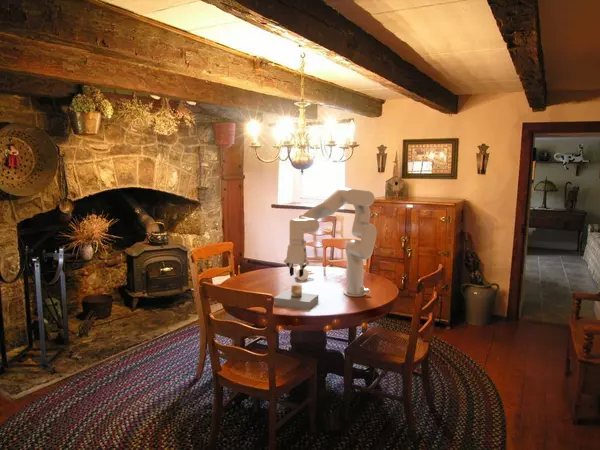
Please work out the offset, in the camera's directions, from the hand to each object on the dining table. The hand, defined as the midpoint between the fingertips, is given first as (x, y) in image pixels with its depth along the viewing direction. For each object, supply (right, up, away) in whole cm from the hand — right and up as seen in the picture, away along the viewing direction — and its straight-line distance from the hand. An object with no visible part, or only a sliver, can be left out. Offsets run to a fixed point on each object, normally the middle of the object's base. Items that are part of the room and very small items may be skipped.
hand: (296, 275), depth 232 cm
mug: (+5, -9, +56) cm, 57 cm away
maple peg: (0, -14, +2) cm, 14 cm away
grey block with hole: (0, -15, +2) cm, 15 cm away
